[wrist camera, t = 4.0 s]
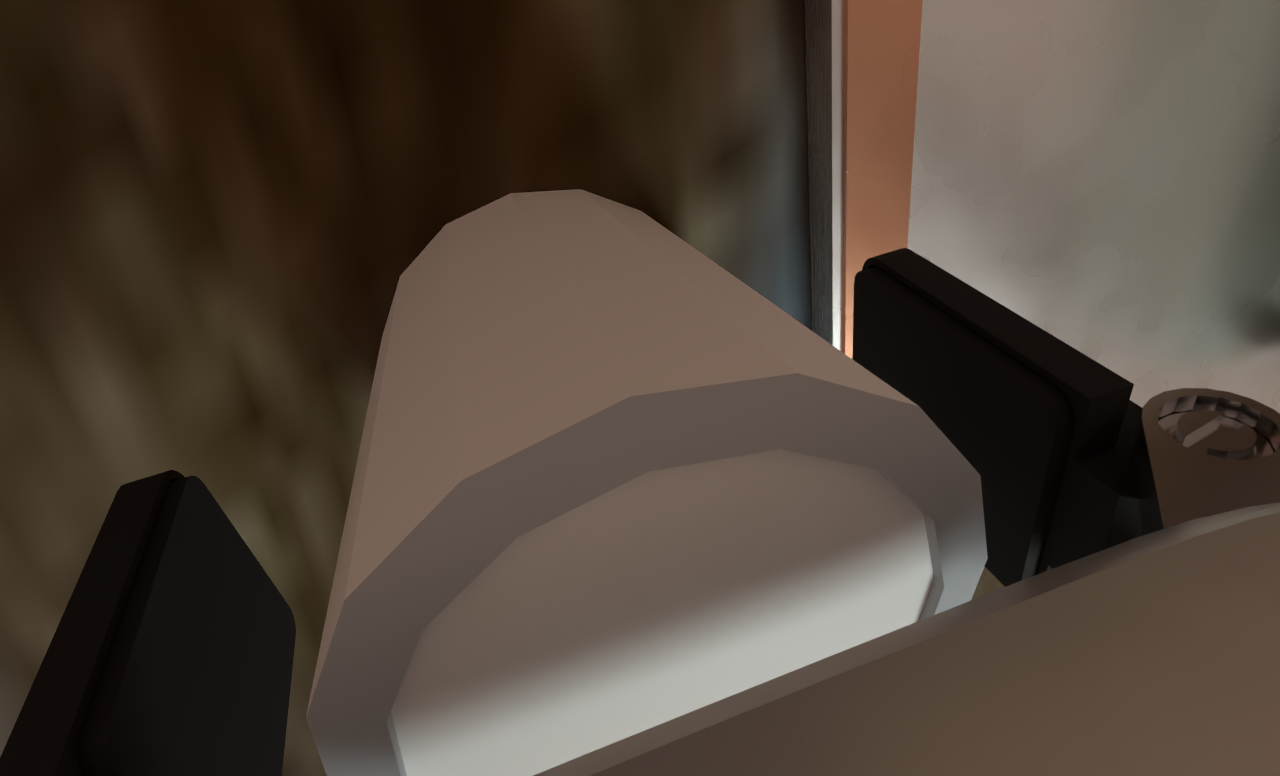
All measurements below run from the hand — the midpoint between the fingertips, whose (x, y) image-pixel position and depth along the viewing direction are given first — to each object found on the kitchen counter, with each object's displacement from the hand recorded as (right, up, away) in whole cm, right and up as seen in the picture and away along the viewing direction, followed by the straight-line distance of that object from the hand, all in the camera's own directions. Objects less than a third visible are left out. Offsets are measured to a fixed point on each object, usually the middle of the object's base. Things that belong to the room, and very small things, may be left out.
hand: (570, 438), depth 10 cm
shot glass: (-1, +2, +3) cm, 3 cm away
